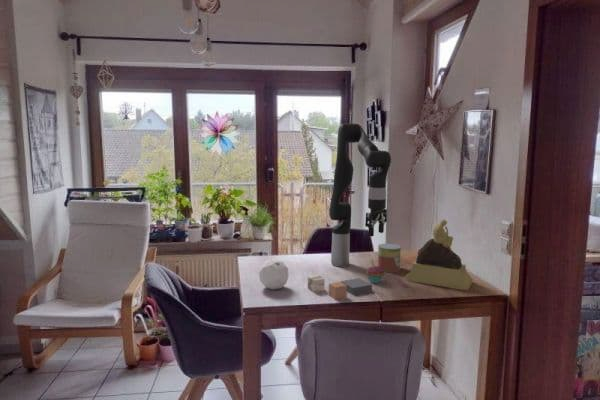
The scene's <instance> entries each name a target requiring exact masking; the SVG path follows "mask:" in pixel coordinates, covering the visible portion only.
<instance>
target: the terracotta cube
mask: <svg viewBox="0 0 600 400" xmlns="http://www.w3.org/2000/svg"><path fill="white" fill-rule="evenodd" d="M347 293H348V292H347V285H345V284H343V283H342V282H341V281H337V282H335V281H334V282H330V283H328V296H329V297H330V298H332V299H333V300H335V301H336V300H343V299H347V297H348V295H347Z"/></svg>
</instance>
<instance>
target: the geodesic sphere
mask: <svg viewBox="0 0 600 400" xmlns="http://www.w3.org/2000/svg"><path fill="white" fill-rule="evenodd" d="M258 276H259V282H261V284H262V285H263V286H264V288H267V289H269V290H278V289H281V288H283V287H284V286H285V285H286V284H287V282H288V280H289V276H290V275H289V268H288V266H287V265H286V263H284V261H282V260H279V259H277V258H273V259H268V260H266V262H263V263H262V264H261V266H260V269H259V272H258Z"/></svg>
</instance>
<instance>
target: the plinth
mask: <svg viewBox="0 0 600 400" xmlns="http://www.w3.org/2000/svg"><path fill="white" fill-rule="evenodd" d="M340 282H342V283H343V284H345V285H347V293H349V294H351V295H359V294H364V293H370V292H372V291H373V283H371V282H368V281H366V280H364V279H362V278H360V277H358V278H351V279H346V280H345V279H344V280H340Z"/></svg>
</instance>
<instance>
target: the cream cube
mask: <svg viewBox="0 0 600 400" xmlns="http://www.w3.org/2000/svg"><path fill="white" fill-rule="evenodd" d="M307 289H308V290H309V291H311V292H312V293H317V292H322V291H323V292H324V291H325V278H324V277H322V276H321V275H316V274H315V275H311V276H307Z"/></svg>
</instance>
